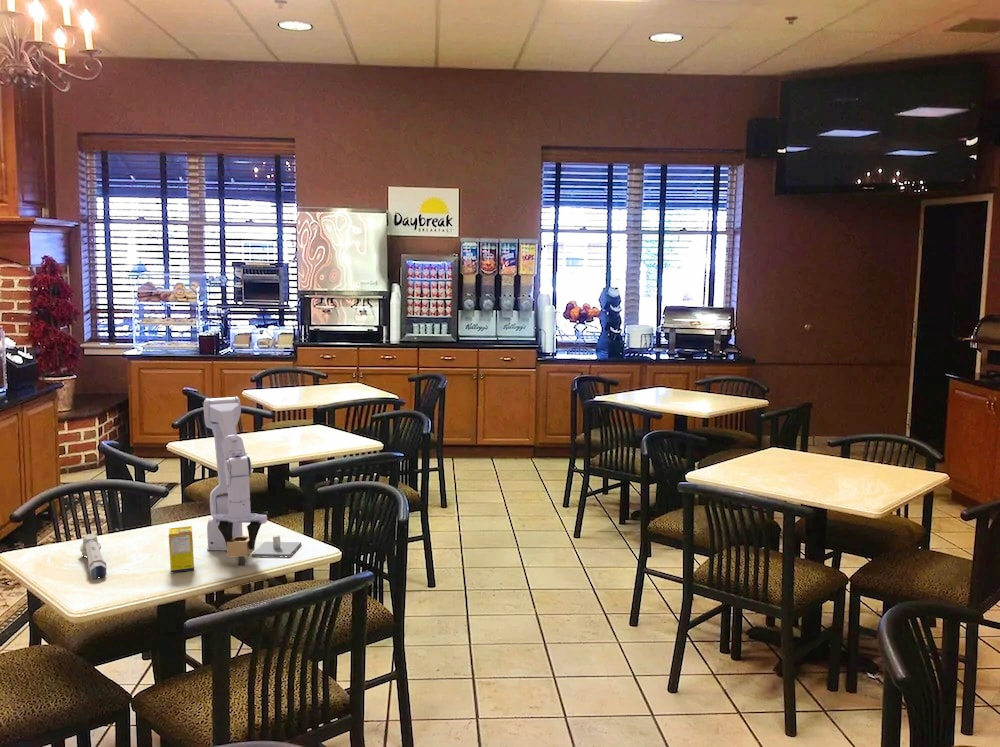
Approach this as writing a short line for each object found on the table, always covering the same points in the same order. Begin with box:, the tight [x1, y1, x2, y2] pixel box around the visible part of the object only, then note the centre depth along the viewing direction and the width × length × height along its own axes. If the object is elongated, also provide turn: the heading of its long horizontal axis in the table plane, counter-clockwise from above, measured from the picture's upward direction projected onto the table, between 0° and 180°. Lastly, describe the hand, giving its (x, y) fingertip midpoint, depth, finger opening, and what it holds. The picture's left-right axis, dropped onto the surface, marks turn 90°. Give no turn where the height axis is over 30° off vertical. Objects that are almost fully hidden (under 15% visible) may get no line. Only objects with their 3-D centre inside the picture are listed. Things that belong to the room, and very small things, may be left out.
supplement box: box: [168, 525, 195, 573], centre depth 227 cm, size 6×6×11 cm
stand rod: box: [237, 556, 246, 567], centre depth 231 cm, size 2×2×4 cm
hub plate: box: [251, 534, 302, 558], centre depth 242 cm, size 11×11×4 cm
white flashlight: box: [79, 533, 107, 579], centre depth 231 cm, size 5×7×25 cm
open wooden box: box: [226, 535, 256, 558], centre depth 230 cm, size 6×6×4 cm
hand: (241, 548), depth 230 cm, fingers closed on open wooden box, 6 cm apart
